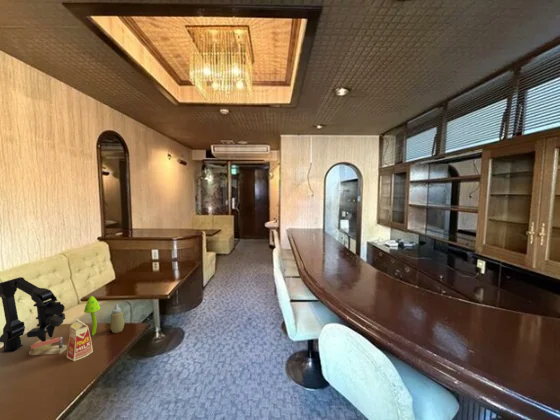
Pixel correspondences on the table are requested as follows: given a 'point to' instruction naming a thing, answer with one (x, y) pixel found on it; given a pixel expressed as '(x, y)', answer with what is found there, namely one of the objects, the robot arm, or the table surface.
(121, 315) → the squeeze bottle
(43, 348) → the tan rectangular block
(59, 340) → the lever
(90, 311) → the mushroom
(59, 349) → the plane body
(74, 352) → the milk carton
